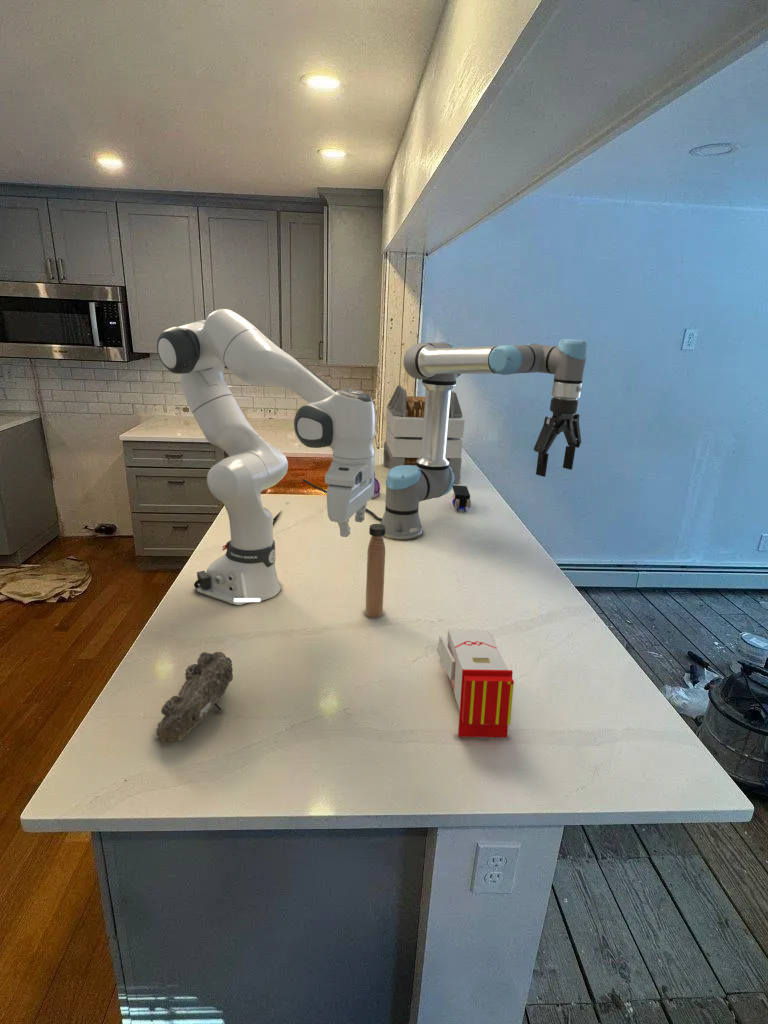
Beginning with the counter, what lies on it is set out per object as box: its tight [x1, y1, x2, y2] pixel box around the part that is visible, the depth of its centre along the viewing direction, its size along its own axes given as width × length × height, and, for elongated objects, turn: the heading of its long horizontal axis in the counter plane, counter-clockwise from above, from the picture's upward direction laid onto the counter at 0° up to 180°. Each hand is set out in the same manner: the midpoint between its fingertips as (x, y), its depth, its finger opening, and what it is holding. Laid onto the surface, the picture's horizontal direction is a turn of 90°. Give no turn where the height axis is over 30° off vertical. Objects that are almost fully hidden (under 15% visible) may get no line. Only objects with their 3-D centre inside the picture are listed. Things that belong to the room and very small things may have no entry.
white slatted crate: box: [383, 384, 465, 484], centre depth 268 cm, size 34×33×41 cm
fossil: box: [155, 651, 234, 743], centre depth 109 cm, size 22×10×15 cm
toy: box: [437, 628, 515, 738], centre depth 117 cm, size 12×13×30 cm
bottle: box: [364, 536, 387, 618], centre depth 143 cm, size 4×4×24 cm
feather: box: [273, 510, 282, 526], centre depth 212 cm, size 2×28×2 cm
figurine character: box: [451, 484, 472, 513], centre depth 228 cm, size 7×8×15 cm
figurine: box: [371, 472, 381, 499], centre depth 236 cm, size 9×10×15 cm
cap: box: [368, 523, 385, 537], centre depth 140 cm, size 4×4×2 cm
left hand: (352, 528), depth 125 cm, fingers open, 8 cm apart
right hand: (554, 472), depth 164 cm, fingers open, 13 cm apart
